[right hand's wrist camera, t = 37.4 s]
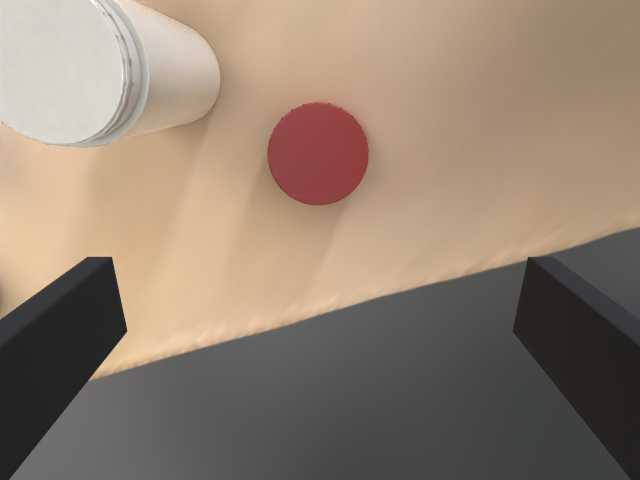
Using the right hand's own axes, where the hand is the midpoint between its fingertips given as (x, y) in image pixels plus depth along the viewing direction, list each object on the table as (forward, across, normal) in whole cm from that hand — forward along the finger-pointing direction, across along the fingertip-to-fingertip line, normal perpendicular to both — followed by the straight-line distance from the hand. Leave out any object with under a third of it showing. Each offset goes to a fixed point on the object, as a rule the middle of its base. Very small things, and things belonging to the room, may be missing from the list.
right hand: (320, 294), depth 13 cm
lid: (+28, 0, 0) cm, 28 cm away
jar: (+30, +14, -8) cm, 34 cm away
